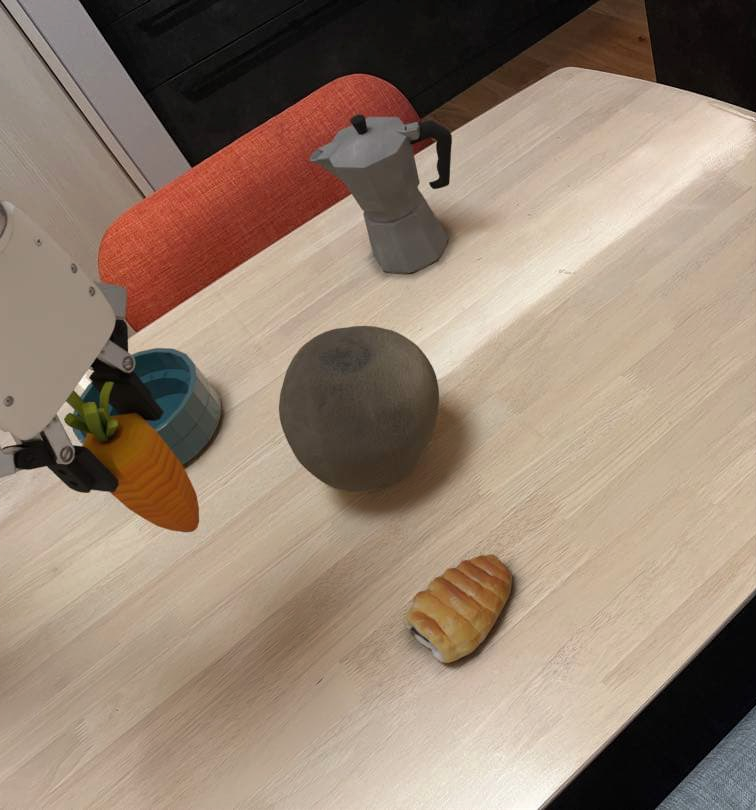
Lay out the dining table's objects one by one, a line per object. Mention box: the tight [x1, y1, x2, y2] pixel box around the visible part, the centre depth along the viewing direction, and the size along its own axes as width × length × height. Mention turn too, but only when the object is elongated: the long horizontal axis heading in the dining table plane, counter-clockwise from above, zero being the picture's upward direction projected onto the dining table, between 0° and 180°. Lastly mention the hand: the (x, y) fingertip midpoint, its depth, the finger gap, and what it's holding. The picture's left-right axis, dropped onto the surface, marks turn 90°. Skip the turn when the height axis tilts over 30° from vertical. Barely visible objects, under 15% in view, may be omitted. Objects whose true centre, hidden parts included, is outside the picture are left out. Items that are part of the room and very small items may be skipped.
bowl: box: [72, 347, 222, 466], centre depth 95 cm, size 13×13×6 cm
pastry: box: [402, 553, 513, 664], centre depth 74 cm, size 9×7×4 cm
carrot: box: [63, 381, 200, 533], centre depth 61 cm, size 5×5×15 cm
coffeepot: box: [309, 114, 453, 275], centre depth 101 cm, size 15×9×18 cm, turn 94°
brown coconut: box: [278, 325, 440, 493], centre depth 82 cm, size 14×14×15 cm
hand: (120, 448), depth 59 cm, fingers closed on carrot, 5 cm apart
